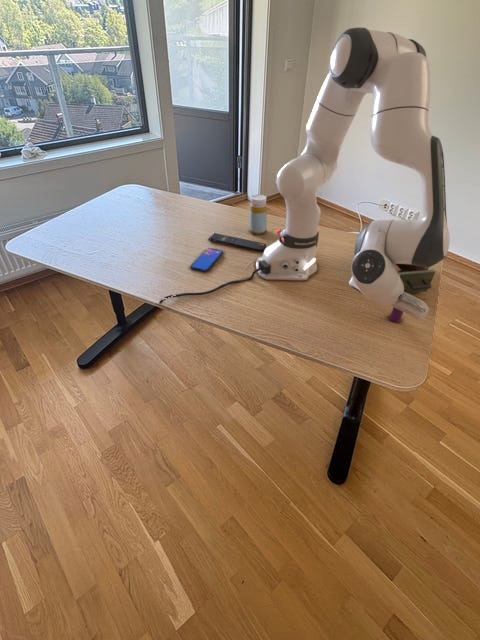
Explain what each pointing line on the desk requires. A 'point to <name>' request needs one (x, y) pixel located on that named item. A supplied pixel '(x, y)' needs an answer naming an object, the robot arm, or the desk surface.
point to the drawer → (414, 277)
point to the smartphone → (206, 260)
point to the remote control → (238, 242)
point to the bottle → (258, 214)
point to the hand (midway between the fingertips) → (394, 302)
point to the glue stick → (396, 315)
